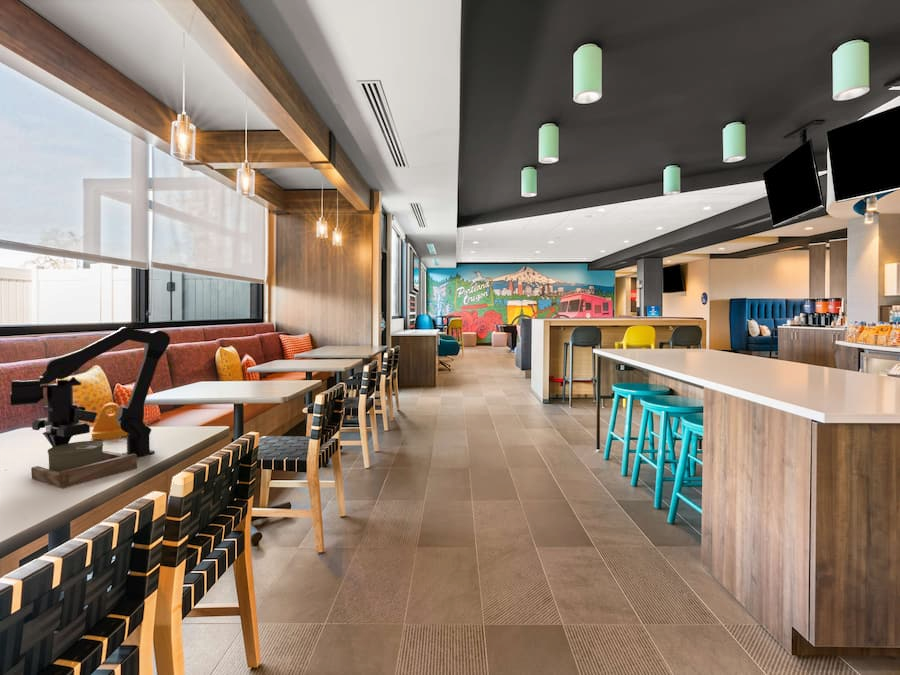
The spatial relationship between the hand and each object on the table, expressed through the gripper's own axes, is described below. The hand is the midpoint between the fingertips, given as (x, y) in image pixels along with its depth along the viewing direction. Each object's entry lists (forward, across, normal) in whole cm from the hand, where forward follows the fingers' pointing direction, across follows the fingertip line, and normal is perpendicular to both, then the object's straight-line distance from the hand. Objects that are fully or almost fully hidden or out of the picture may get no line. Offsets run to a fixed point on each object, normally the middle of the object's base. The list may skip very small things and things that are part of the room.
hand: (61, 456), depth 133 cm
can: (+3, -8, 0) cm, 9 cm away
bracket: (+3, +23, -25) cm, 34 cm away
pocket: (+3, -12, 0) cm, 12 cm away
